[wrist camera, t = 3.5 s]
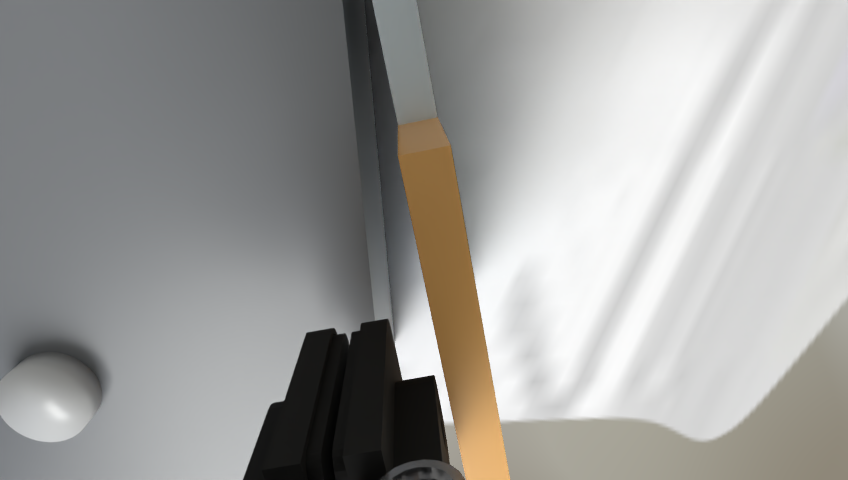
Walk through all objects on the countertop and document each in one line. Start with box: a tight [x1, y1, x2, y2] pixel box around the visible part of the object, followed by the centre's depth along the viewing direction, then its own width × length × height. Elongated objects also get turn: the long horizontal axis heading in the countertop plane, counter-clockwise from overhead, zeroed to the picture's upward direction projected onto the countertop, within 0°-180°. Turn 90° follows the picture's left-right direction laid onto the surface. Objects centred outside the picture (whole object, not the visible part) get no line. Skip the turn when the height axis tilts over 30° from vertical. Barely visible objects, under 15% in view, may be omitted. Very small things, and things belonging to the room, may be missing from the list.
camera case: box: [0, 0, 395, 480], centre depth 16 cm, size 16×10×9 cm, turn 4°
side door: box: [372, 0, 510, 480], centre depth 14 cm, size 12×1×11 cm, turn 11°
